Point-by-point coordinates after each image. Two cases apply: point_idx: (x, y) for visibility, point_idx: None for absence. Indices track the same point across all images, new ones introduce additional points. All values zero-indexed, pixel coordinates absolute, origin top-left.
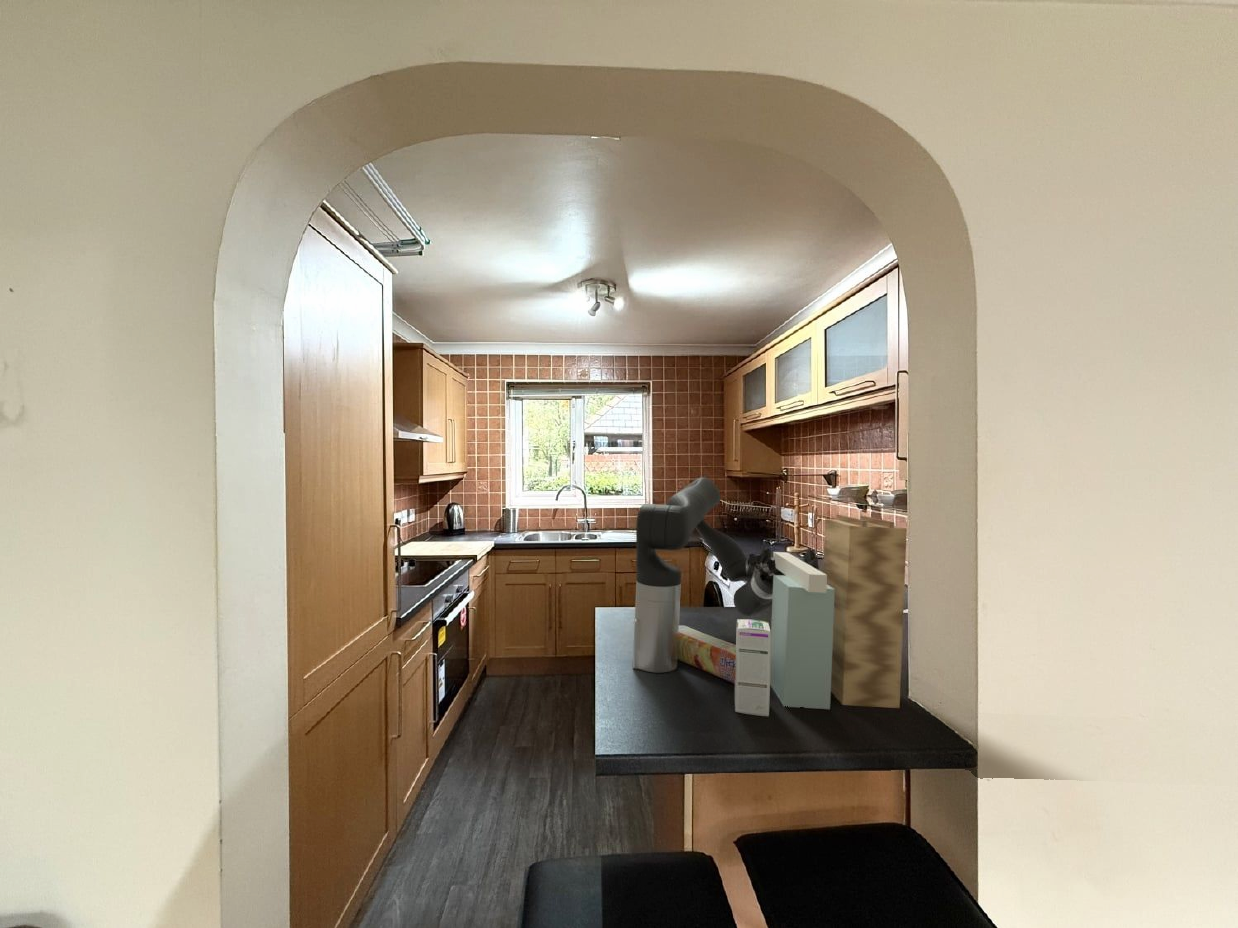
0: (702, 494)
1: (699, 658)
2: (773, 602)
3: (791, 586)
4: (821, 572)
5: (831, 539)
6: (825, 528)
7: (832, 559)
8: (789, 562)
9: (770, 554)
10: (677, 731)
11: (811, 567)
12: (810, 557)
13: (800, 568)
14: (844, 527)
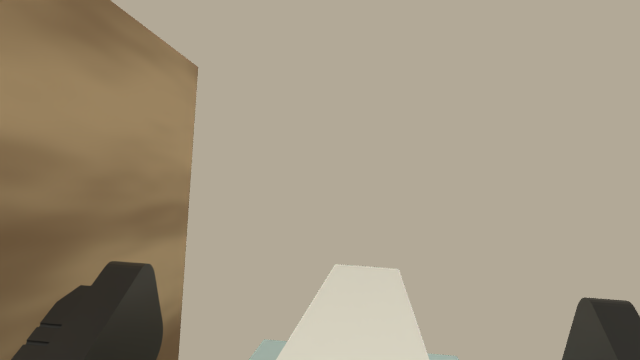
0: None
1: None
2: None
3: (442, 357)
4: (336, 270)
5: (88, 133)
6: (6, 22)
7: (94, 277)
8: (415, 324)
9: (568, 351)
10: None
11: (334, 285)
12: (159, 329)
13: (401, 285)
14: (177, 67)
